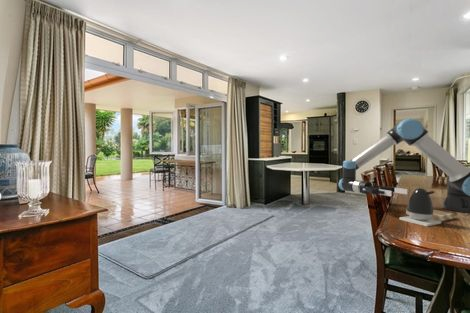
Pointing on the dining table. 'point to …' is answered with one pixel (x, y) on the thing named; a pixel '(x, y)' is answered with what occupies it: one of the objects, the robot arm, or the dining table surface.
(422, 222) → the ceramic tile
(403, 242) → the dining table surface
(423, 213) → the black tall egg-shaped piece
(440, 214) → the square picture frame
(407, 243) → the dining table surface
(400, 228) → the dining table surface
